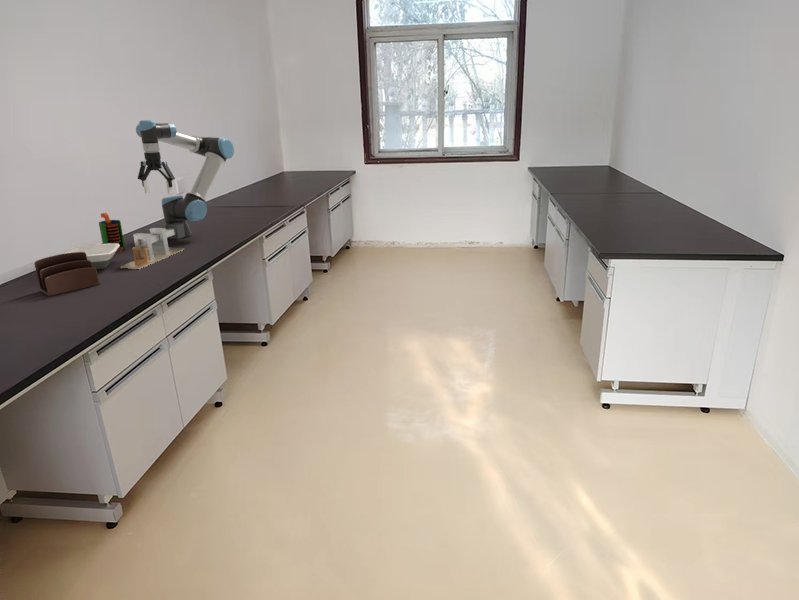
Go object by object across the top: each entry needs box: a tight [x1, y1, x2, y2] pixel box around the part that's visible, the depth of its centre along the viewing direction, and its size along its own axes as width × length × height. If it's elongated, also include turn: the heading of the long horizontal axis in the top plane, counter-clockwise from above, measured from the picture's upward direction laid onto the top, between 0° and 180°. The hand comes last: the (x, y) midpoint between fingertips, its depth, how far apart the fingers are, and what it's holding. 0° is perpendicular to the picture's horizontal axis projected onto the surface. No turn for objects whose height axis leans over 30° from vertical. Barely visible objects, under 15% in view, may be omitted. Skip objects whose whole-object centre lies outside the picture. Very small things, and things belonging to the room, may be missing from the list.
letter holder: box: [33, 252, 101, 297], centre depth 226 cm, size 10×20×14 cm, turn 138°
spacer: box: [131, 246, 150, 263], centre depth 260 cm, size 7×2×7 cm, turn 80°
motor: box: [98, 212, 126, 253], centre depth 281 cm, size 10×9×20 cm
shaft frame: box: [120, 227, 185, 270], centre depth 267 cm, size 10×36×14 cm, turn 167°
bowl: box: [63, 243, 120, 270], centre depth 256 cm, size 22×23×8 cm
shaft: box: [141, 223, 186, 245], centre depth 275 cm, size 5×30×7 cm, turn 167°
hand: (158, 193), depth 284 cm, fingers open, 13 cm apart
